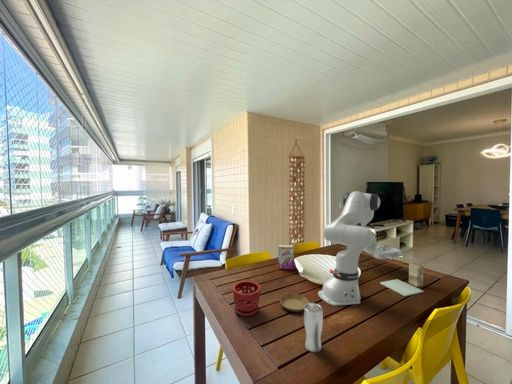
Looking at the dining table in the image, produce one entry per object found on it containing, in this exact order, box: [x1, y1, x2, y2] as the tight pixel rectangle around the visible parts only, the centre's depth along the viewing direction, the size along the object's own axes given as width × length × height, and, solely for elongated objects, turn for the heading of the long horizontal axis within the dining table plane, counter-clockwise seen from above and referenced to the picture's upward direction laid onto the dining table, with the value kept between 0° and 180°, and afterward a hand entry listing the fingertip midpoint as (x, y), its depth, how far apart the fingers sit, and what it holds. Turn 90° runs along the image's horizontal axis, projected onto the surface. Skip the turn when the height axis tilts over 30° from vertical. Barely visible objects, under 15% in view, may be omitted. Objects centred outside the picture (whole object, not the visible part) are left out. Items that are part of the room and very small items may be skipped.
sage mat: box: [379, 278, 424, 297], centre depth 127 cm, size 14×16×1 cm
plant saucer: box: [279, 293, 310, 313], centre depth 110 cm, size 15×15×3 cm
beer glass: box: [303, 302, 324, 353], centre depth 82 cm, size 7×7×15 cm
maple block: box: [408, 262, 424, 288], centre depth 130 cm, size 5×5×12 cm
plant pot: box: [232, 280, 261, 317], centre depth 105 cm, size 13×13×12 cm
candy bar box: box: [278, 244, 295, 270], centre depth 157 cm, size 11×5×16 cm, turn 84°
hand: (397, 257), depth 142 cm, fingers open, 8 cm apart
